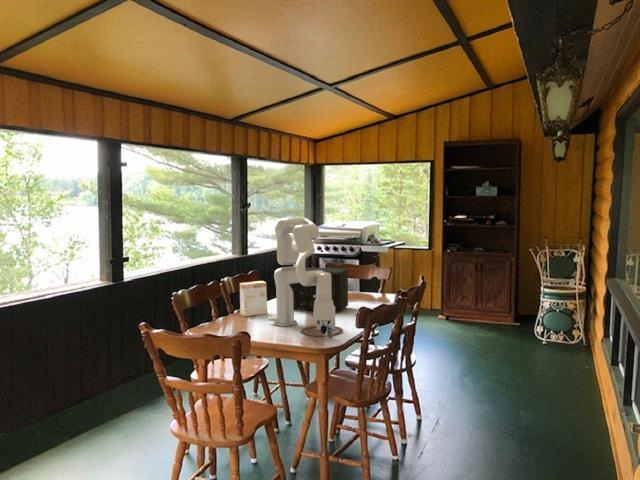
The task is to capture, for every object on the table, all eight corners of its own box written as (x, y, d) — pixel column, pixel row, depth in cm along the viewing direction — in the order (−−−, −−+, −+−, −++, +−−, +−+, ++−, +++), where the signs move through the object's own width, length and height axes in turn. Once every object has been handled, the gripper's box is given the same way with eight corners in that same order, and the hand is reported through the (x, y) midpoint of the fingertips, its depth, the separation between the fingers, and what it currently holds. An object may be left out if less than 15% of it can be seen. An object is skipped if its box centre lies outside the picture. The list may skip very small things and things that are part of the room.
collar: (310, 340, 267) (309, 330, 266) (295, 328, 291) (295, 319, 291) (351, 336, 273) (351, 326, 273) (334, 324, 298) (334, 315, 298)
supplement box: (324, 332, 283) (324, 308, 282) (316, 329, 288) (316, 306, 288) (335, 329, 287) (335, 306, 286) (327, 327, 293) (327, 304, 292)
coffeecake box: (263, 311, 335) (262, 280, 334) (267, 313, 329) (266, 282, 327) (240, 314, 328) (239, 282, 327) (244, 316, 322) (243, 284, 320)
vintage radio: (282, 310, 338) (281, 270, 336) (293, 304, 356) (293, 266, 355) (339, 314, 326) (339, 272, 324) (348, 307, 344) (348, 268, 342)
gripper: (307, 298, 267) (308, 334, 269) (337, 299, 265) (337, 335, 267) (310, 295, 275) (310, 331, 276) (339, 296, 273) (339, 332, 274)
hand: (323, 333), depth 272 cm, fingers closed
